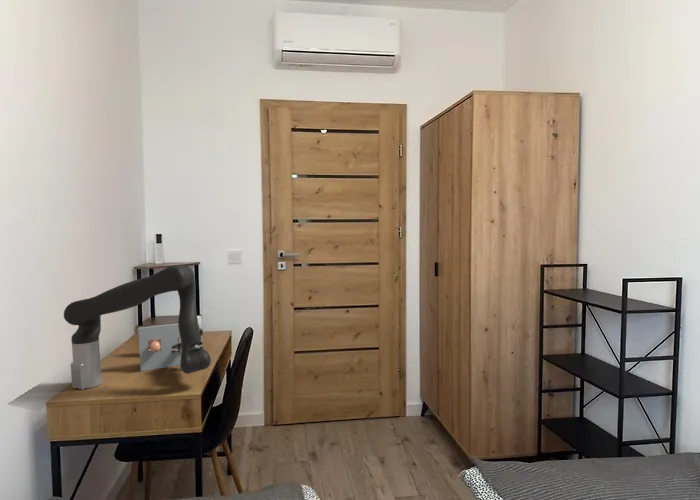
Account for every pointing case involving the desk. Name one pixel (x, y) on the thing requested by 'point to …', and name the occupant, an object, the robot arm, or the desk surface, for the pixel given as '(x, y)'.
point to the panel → (164, 355)
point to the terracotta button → (155, 346)
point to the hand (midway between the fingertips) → (185, 343)
